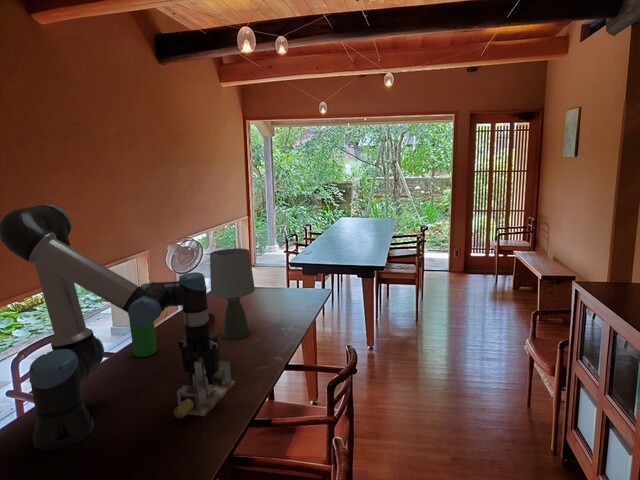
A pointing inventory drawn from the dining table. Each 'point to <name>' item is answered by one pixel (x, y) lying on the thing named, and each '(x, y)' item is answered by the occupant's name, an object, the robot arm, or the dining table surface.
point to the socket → (223, 373)
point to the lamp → (232, 287)
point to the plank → (213, 397)
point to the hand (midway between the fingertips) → (203, 392)
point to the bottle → (143, 339)
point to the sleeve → (193, 392)
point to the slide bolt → (190, 401)
